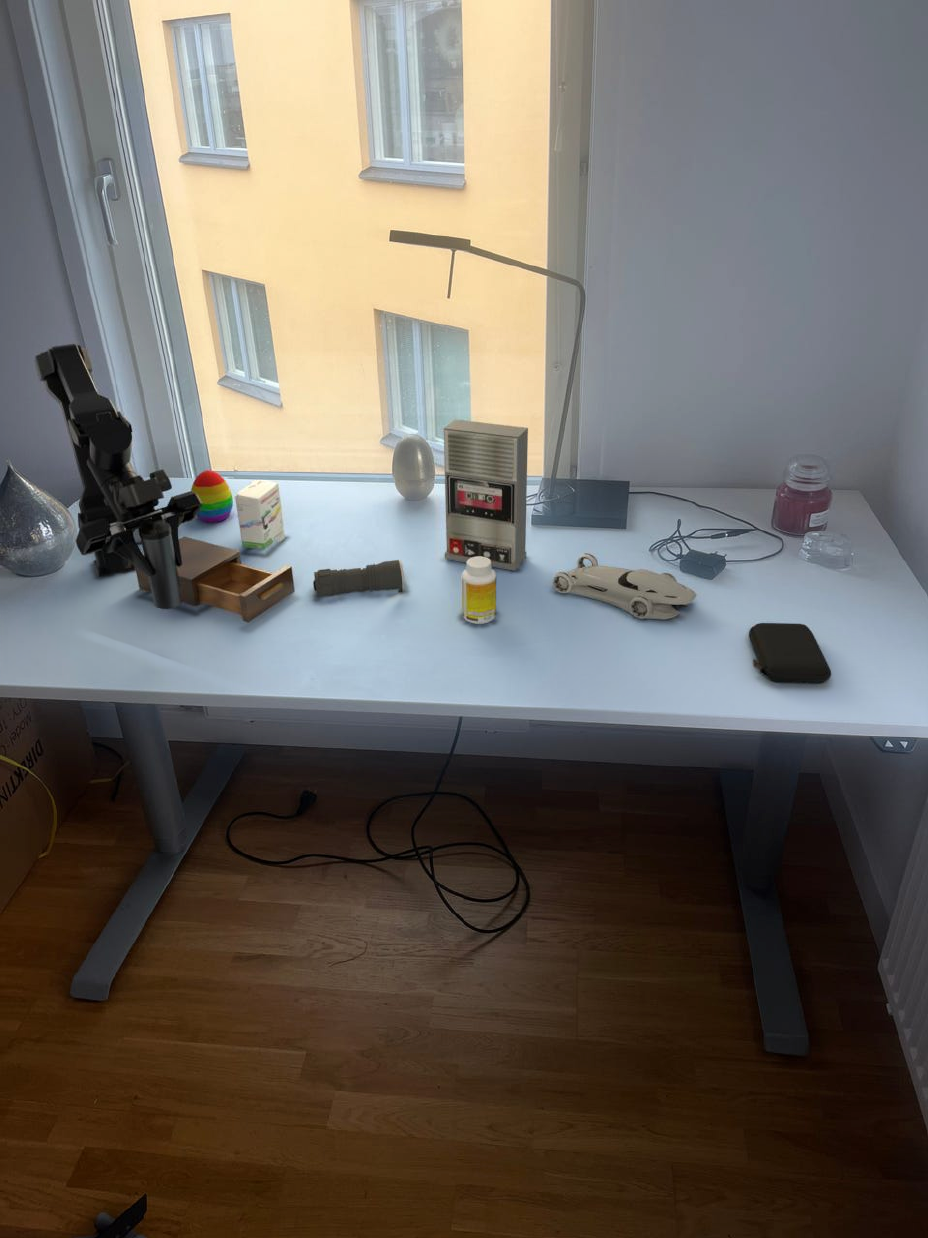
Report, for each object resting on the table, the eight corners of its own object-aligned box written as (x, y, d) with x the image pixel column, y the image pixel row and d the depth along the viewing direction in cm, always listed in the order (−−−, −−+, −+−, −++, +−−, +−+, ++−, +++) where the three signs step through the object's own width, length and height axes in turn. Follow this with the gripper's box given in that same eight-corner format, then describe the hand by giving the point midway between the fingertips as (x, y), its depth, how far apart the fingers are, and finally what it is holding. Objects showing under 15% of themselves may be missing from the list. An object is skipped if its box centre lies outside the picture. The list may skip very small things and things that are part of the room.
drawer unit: (141, 596, 162) (133, 562, 159) (190, 568, 171) (184, 536, 168) (197, 613, 157) (190, 579, 153) (244, 583, 166) (239, 550, 162)
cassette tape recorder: (444, 560, 172) (440, 429, 160) (457, 546, 177) (454, 418, 164) (515, 572, 168) (517, 439, 155) (526, 558, 173) (529, 427, 160)
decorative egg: (229, 525, 187) (222, 478, 182) (189, 525, 187) (181, 478, 182) (238, 508, 194) (232, 463, 189) (199, 509, 194) (192, 463, 189)
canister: (148, 602, 145) (132, 527, 139) (175, 592, 148) (161, 518, 141) (162, 612, 142) (147, 537, 136) (189, 602, 145) (176, 528, 138)
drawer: (189, 609, 157) (183, 578, 154) (237, 579, 166) (232, 550, 163) (252, 629, 151) (247, 597, 148) (298, 597, 160) (295, 567, 157)
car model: (578, 566, 170) (579, 541, 167) (705, 602, 157) (708, 576, 155) (546, 590, 162) (547, 564, 159) (677, 630, 149) (681, 603, 147)
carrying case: (738, 634, 148) (757, 687, 135) (741, 617, 147) (760, 669, 134) (807, 636, 147) (832, 689, 135) (810, 619, 146) (836, 671, 133)
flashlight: (316, 606, 158) (312, 578, 155) (313, 591, 163) (310, 564, 160) (405, 596, 161) (404, 568, 158) (401, 581, 165) (399, 554, 163)
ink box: (265, 556, 175) (257, 498, 169) (242, 553, 176) (233, 495, 170) (286, 537, 182) (279, 480, 176) (263, 534, 183) (256, 478, 177)
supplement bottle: (502, 620, 153) (502, 564, 148) (471, 628, 151) (471, 572, 146) (486, 605, 157) (486, 551, 152) (456, 613, 155) (455, 558, 150)
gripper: (66, 473, 130) (117, 569, 129) (186, 440, 141) (235, 529, 140) (56, 508, 139) (103, 599, 138) (170, 475, 150) (215, 559, 149)
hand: (166, 570), depth 141 cm, fingers closed on canister, 4 cm apart
